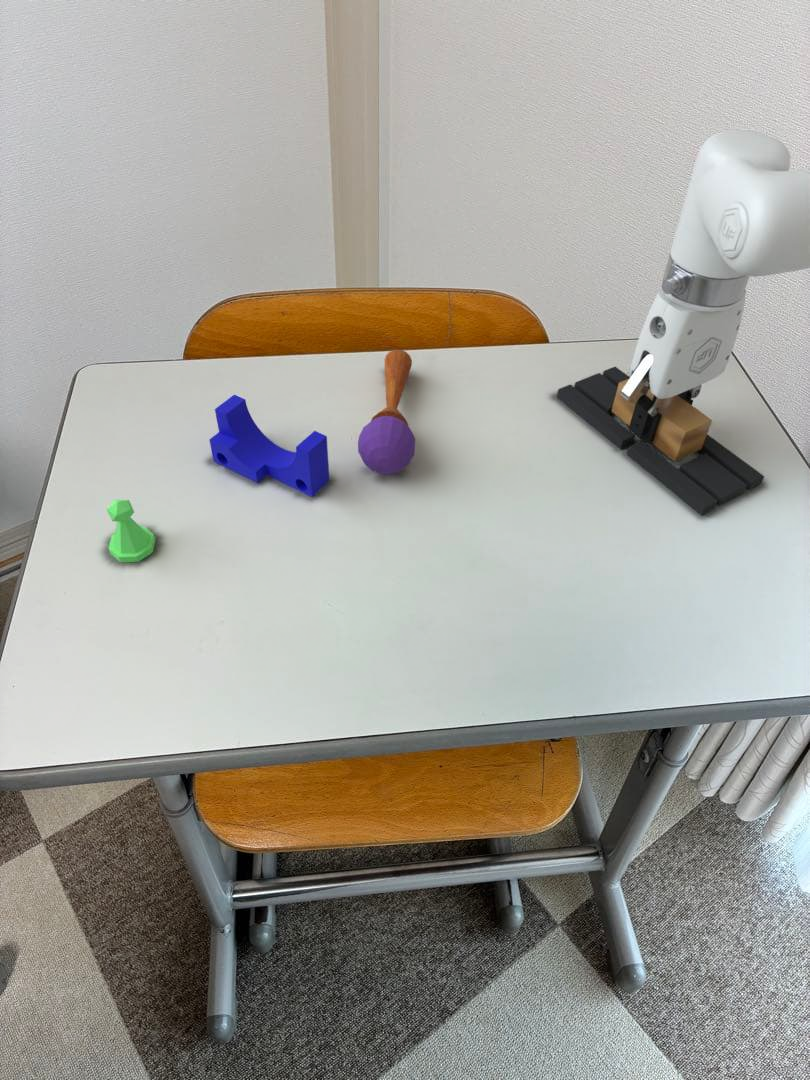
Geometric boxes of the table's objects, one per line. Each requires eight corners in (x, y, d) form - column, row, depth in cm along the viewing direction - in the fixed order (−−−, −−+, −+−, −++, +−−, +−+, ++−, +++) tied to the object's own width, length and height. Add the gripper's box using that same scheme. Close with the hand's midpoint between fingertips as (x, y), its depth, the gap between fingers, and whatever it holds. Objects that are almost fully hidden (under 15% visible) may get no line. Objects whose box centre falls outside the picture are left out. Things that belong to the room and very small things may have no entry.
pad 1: (678, 423, 91) (681, 414, 90) (620, 449, 88) (622, 441, 87) (613, 374, 98) (615, 366, 97) (556, 397, 94) (558, 388, 93)
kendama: (428, 345, 94) (419, 445, 79) (416, 388, 98) (406, 490, 83) (378, 334, 93) (360, 432, 78) (369, 377, 97) (350, 478, 82)
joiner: (701, 449, 86) (712, 420, 84) (674, 461, 85) (685, 432, 82) (636, 400, 92) (645, 371, 89) (611, 411, 91) (618, 382, 88)
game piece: (161, 554, 76) (147, 510, 71) (115, 569, 74) (98, 524, 70) (150, 525, 78) (136, 480, 74) (105, 538, 77) (89, 493, 73)
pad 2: (761, 484, 84) (765, 476, 84) (701, 515, 81) (704, 507, 80) (685, 427, 91) (688, 419, 90) (626, 454, 87) (629, 446, 86)
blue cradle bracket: (213, 461, 85) (204, 416, 81) (241, 438, 88) (234, 394, 83) (302, 505, 81) (298, 461, 76) (329, 480, 83) (326, 436, 79)
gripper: (670, 320, 70) (623, 475, 83) (795, 272, 76) (733, 423, 89) (611, 282, 74) (576, 435, 87) (735, 240, 80) (684, 388, 94)
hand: (656, 428), depth 88 cm, fingers closed on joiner, 4 cm apart
